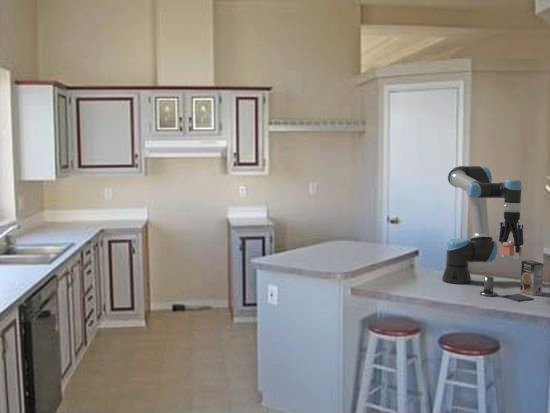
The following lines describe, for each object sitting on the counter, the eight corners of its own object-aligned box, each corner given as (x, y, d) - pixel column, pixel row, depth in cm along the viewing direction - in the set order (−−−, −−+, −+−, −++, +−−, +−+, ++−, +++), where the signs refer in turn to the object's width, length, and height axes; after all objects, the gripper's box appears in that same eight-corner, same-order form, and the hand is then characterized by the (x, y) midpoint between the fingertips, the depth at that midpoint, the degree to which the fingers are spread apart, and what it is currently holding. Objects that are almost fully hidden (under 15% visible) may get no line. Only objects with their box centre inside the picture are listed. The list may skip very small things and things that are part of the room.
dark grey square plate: (502, 296, 319) (503, 295, 319) (518, 295, 323) (518, 293, 323) (517, 301, 310) (517, 300, 310) (533, 299, 313) (533, 298, 313)
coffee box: (519, 291, 330) (521, 260, 328) (529, 290, 332) (531, 259, 331) (532, 295, 322) (533, 264, 320) (542, 294, 324) (544, 263, 322)
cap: (499, 254, 317) (499, 240, 317) (511, 253, 320) (511, 239, 319) (509, 256, 311) (509, 242, 310) (521, 255, 313) (521, 241, 313)
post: (476, 293, 325) (477, 276, 324) (489, 292, 328) (489, 274, 327) (487, 297, 318) (488, 279, 317) (500, 295, 321) (500, 278, 320)
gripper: (492, 209, 322) (490, 255, 323) (520, 213, 303) (518, 261, 305) (504, 209, 324) (502, 254, 326) (533, 213, 305) (531, 260, 307)
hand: (510, 257), depth 315 cm, fingers closed on cap, 7 cm apart
